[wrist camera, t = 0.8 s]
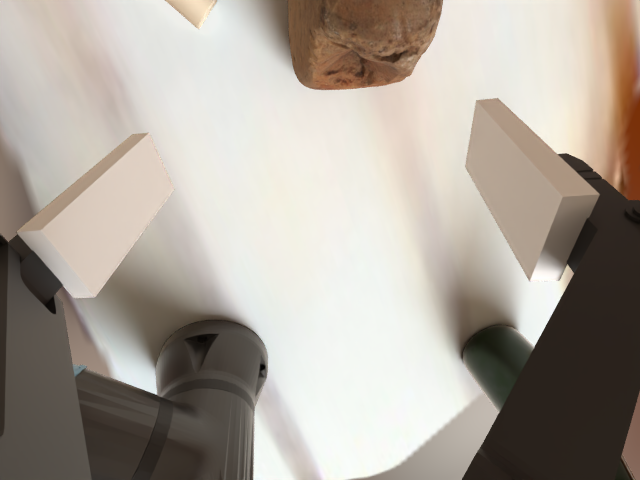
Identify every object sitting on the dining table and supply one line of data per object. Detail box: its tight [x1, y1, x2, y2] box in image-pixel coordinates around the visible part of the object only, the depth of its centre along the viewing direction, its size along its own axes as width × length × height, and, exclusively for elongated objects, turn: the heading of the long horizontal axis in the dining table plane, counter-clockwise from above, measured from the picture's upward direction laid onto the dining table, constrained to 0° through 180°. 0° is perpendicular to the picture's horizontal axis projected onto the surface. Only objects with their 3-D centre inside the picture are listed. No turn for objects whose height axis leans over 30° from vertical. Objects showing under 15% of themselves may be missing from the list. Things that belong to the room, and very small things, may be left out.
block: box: [288, 0, 443, 90], centre depth 25 cm, size 11×8×20 cm
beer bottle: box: [463, 325, 636, 480], centre depth 43 cm, size 10×10×33 cm
